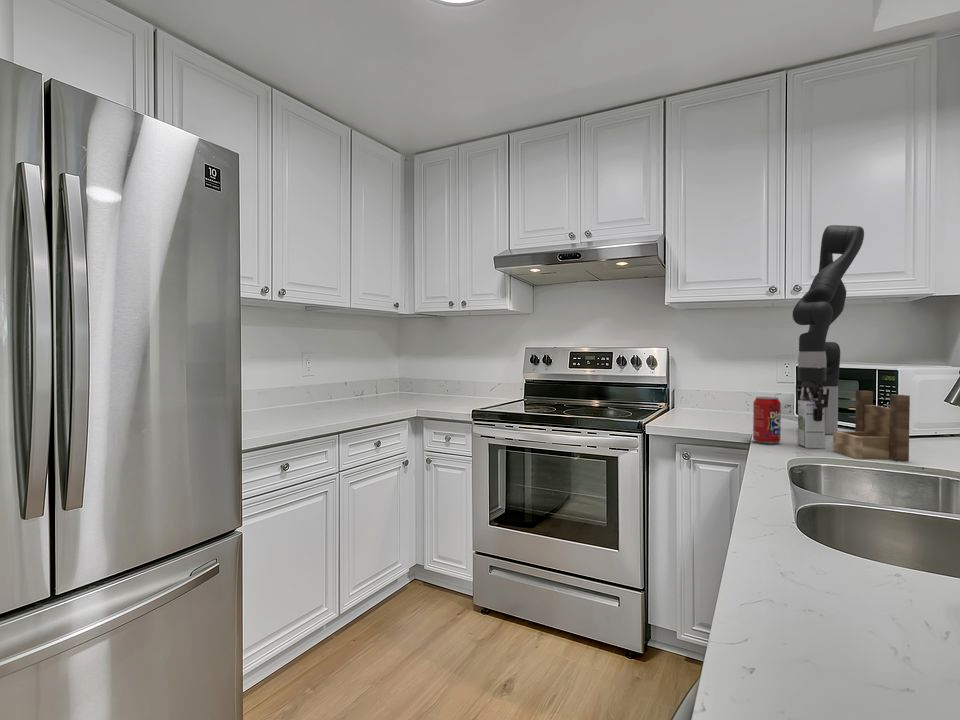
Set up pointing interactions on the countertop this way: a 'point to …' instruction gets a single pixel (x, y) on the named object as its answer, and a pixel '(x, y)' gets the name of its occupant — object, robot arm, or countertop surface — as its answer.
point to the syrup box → (810, 426)
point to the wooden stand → (877, 430)
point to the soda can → (766, 420)
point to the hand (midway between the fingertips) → (811, 419)
